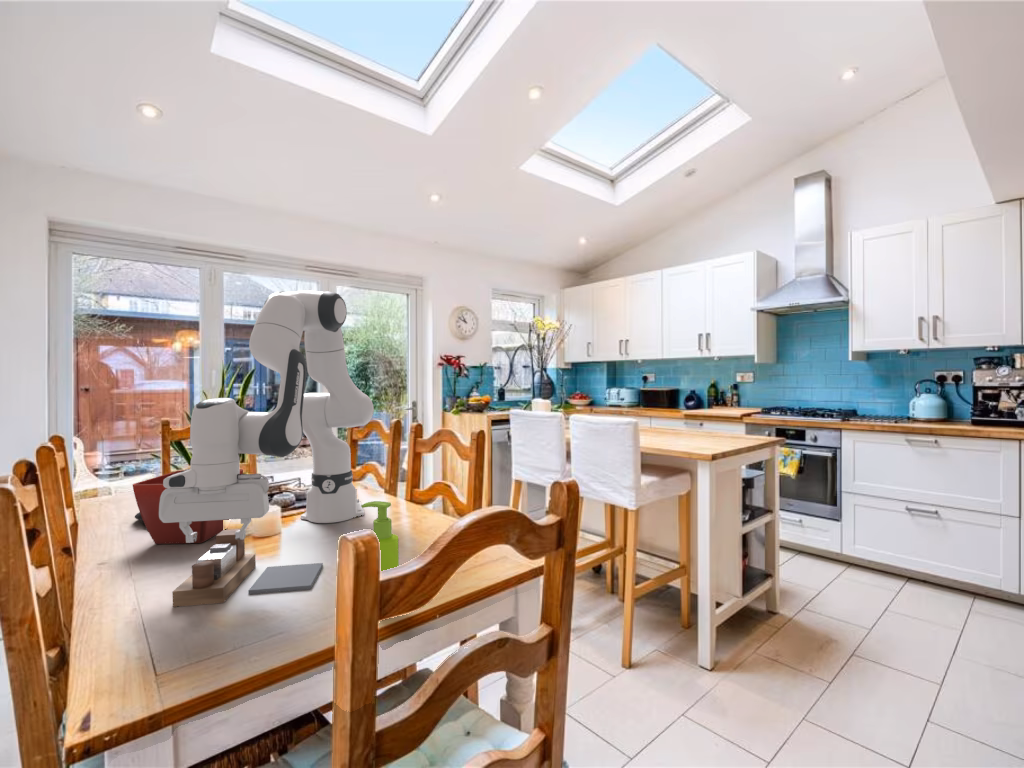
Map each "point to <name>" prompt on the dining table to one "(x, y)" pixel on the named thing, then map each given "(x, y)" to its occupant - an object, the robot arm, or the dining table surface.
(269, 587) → the slate mat
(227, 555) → the lever cap
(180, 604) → the body
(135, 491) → the plant pot
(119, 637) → the dining table surface
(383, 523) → the soap dispenser
